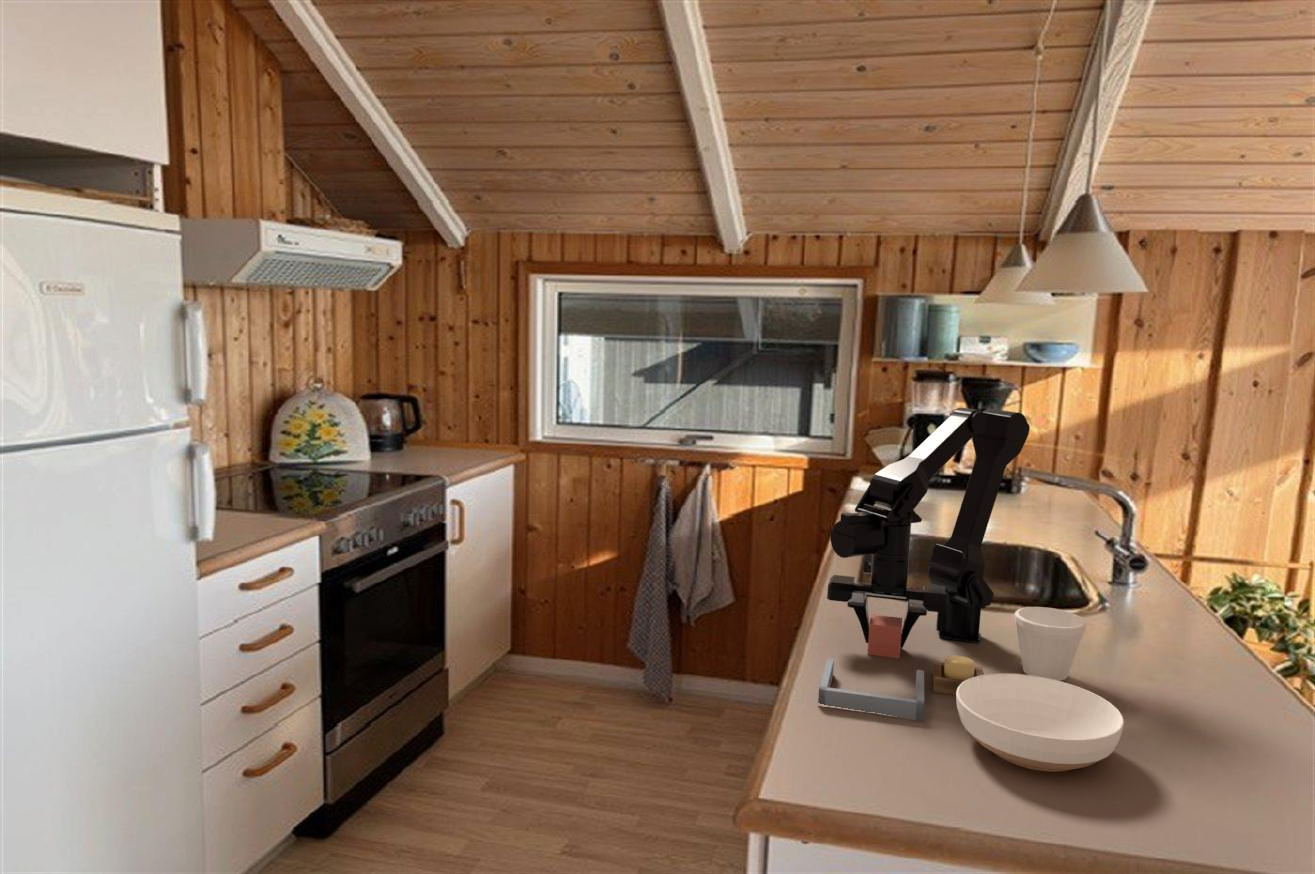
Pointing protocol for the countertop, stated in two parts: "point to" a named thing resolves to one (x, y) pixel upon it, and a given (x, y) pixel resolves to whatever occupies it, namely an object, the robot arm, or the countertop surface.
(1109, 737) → the bowl
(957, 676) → the pale yellow rounded block
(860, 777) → the countertop surface
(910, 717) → the pocket
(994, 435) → the robot arm
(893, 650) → the cube
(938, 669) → the housing
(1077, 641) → the cup
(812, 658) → the countertop surface
